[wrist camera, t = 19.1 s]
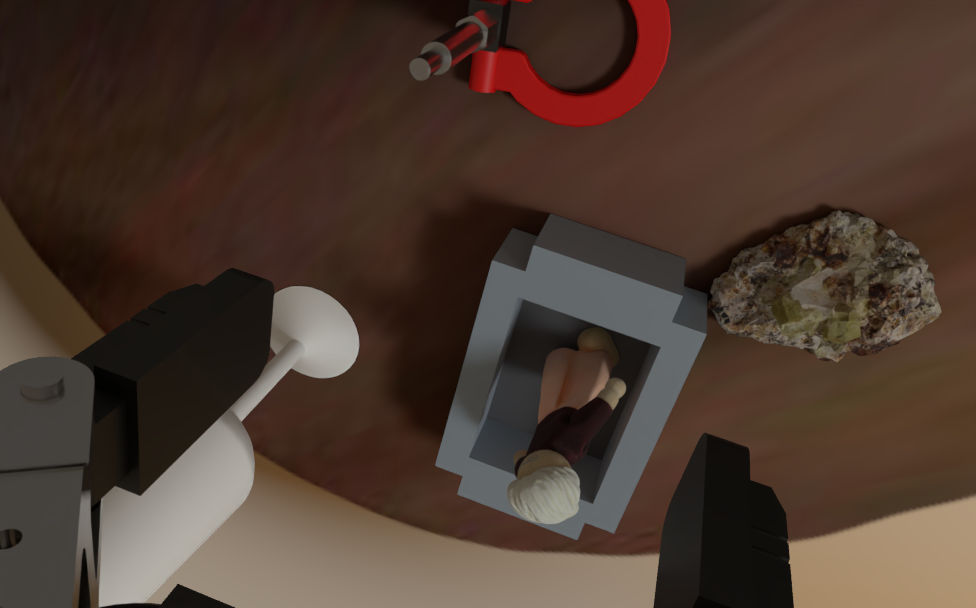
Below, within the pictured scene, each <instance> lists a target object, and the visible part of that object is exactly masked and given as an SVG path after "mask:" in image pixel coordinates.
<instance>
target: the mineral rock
mask: <svg viewBox="0 0 976 608" xmlns="http://www.w3.org/2000/svg"><path fill="white" fill-rule="evenodd" d="M927 268H928V264H927V262H926V261H925V259H924V258H923V257H922V256H921V255H920V254H919V250H918V247H917V246H915V245H914V244H913V243H912V242H910V241H909V240H905V239H901V238H898V237H897V235H896V234H895V233H894V231H893V230H890V229H887V228H885V227H884V226H882V225H879V224H876V223H875V222H874V221H873V220H872V219H871V218H867V217H862V216H861V215H859V214H856V213H854V214H851V213H849V212H844V213H842V212H841V211H840V210H839V211H834V212H832V213H831V214H830V215H829V216H827V217H825V218H821V219H817V220H813V221H812V223H810V224H808V225H805V224H801V225H798V226H795V227H791V228H789V229H787V230H785V232H784V233H781V234H773V236H772V237H771V238H769V239H768V240H767V241H766V242H765V243H763V244H759V245H757V246H756V247H754V248H746V249H744V250H742V251H741V252H740V253H739V254H738V255H737V256H736V257H734V258H733V259H732V264H731V265H730V268H729V271H728V272H725V273H723V274H721V276H720V277H719V278H715V279H714V281H713V284H712V287H711V291H710V293H711V294H712V296H713V297H712V299H711V300H709V301H708V304H707V308H708V309H709V310H711V311H712V312H713V313H714V315H715V317H716V320H717V321H718V322H719V324H720V326H721V327H722V328H724V329H725V330H726V332H727V334H732V333H734V334H736V335H737V336H738V337H750V338H754V339H756V340H757V341H758V342H764V343H765V344H768V343H777V344H778V345H784V346H793V347H797V348H800V349H803V348H808V351H809V352H812V353H815V355H816V357H817V358H818V359H820V360H822V361H830V360H833V361H834V362H835V363H837V362H838V361H839V360H840V359H842V357H843V356H844V354H845V353H846V352H847V351H850V352H853V353H855V354H856V355H858V356H866V355H875V354H877V353H878V352H880V351H882V350H883V349H885V348H888V347H890V346H893V345H896V344H899V343H900V341H901V340H902V338H904V337H906V336H908V335H911V334H913V333H914V332H916V331H917V330H919V329H921V328H923V326H924V325H926V324H929V323H931V322H932V321H934V320H936V319H937V318H938V317H939V315H940V313H941V306H940V305H939V304H938V300H937V296H936V295H935V293H934V285H935V284H936V283H935V280H934V277H933V274H932V273H931V272H930V271H929V270H928V269H927Z"/></svg>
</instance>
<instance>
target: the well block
mask: <svg viewBox="0 0 976 608" xmlns="http://www.w3.org/2000/svg"><path fill="white" fill-rule="evenodd" d="M685 264H686V259H685V258H682V257H679V256H676V255H673V254H670V253H667V252H664V251H661V250H658V249H655V248H652V247H649V246H646V245H643V244H640V243H637V242H634V241H631V240H628V239H625V238H622V237H619V236H616V235H613V234H610V233H607V232H604V231H601V230H598V229H595V228H592V227H589V226H586V225H583V224H580V223H577V222H574V221H571V220H568V219H565V218H562V217H559V216H556V215H553V214H550V215H549V217H548V219H547V221H546V223H545V225H544V227H543V228H542V230H541V232H540V234H539V236H535V235H532V234H529V233H526V232H523V231H520V230H517V229H514V228H512V230H511V231H510V233H509V234H508V236H507V238H506V239H505V241H504V242H503V244H502V245H501V247H500V249H499V250H498V252H497V253H496V255H495V256H494V258H493V260H492V262H491V266H490V270H489V273H488V277H487V281H486V284H485V288H484V291H483V295H482V299H481V302H480V306H479V309H478V313H477V317H476V320H475V324H474V327H473V331H472V335H471V338H470V342H469V345H468V349H467V353H466V356H465V360H464V363H463V367H462V371H461V374H460V378H459V381H458V385H457V389H456V392H455V396H454V399H453V403H452V407H451V410H450V414H449V417H448V421H447V425H446V428H445V432H444V435H443V439H442V443H441V446H440V450H439V453H438V457H437V461H436V464H435V466H437V467H440V468H443V469H445V470H448V471H451V472H453V473H456V474H458V475H461V476H463V478H462V481H461V484H460V487H459V491H458V495H460V496H463V497H465V498H468V499H471V500H473V501H476V502H479V503H481V504H484V505H486V506H489V507H492V508H494V509H497V510H499V511H502V512H505V513H507V514H510V515H513V516H515V517H518V518H520V519H523V520H526V521H528V522H531V523H533V524H536V525H539V526H541V527H544V528H547V529H549V530H552V531H554V532H557V533H560V534H562V535H565V536H567V537H570V538H573V539H575V540H577V539H578V537H579V535H580V532H581V530H582V528H583V526H584V523H588V524H590V525H593V526H596V527H598V528H601V529H603V530H606V531H609V532H611V533H614V532H615V530H616V528H617V526H618V524H619V522H620V519H621V517H622V515H623V513H624V511H625V509H626V507H627V504H628V502H629V500H630V498H631V496H632V494H633V491H634V489H635V487H636V485H637V483H638V481H639V479H640V476H641V474H642V472H643V470H644V468H645V466H646V464H647V461H648V459H649V457H650V455H651V453H652V451H653V449H654V446H655V444H656V442H657V440H658V438H659V436H660V434H661V431H662V429H663V427H664V425H665V423H666V421H667V419H668V416H669V414H670V412H671V410H672V408H673V406H674V404H675V401H676V399H677V397H678V395H679V393H680V391H681V388H682V386H683V384H684V382H685V380H686V378H687V376H688V373H689V371H690V369H691V367H692V365H693V363H694V361H695V358H696V356H697V354H698V352H699V350H700V348H701V346H702V343H703V341H704V339H705V337H706V335H707V294H706V293H703V292H700V291H697V290H694V289H691V288H688V287H685V286H684V277H685ZM591 327H599V328H603V329H604V330H606V331H607V332H608V333H609V334H610V336H611V338H612V340H613V342H614V344H615V346H616V348H617V350H618V353H619V356H620V360H619V362H618V364H617V365H616V366H615V367H613V368H612V371H611V374H610V378H609V379H611V378H619V379H621V380H623V381H624V383H625V385H626V392H625V393H624V395H623V396H622V397H621V398H619V401H618V403H617V405H616V407H615V408H614V409H613V412H612V415H611V416H610V417H609V419H608V420H607V421H606V422H605V423H604V425H603V426H602V427H601V429H600V430H599V432H598V433H597V434H596V435H595V436H594V437H593V438H592V439H591V440H590V444H589V448H588V451H587V453H586V455H585V456H584V457H583V458H582V459H581V460H580V461H578V462H577V463H575V464H574V465H573V466H571V468H572V469H573V470H574V471H575V472H576V473H577V475H578V477H579V480H580V486H579V488H580V498H579V502H578V505H579V509H578V512H577V513H576V514H575V515H574V516H572V517H570V518H567V519H566V520H564V521H562V522H560V523H557V524H544V523H536V522H533V521H529V520H527V519H525V518H523V517H522V516H520V515H519V514H518V513H516V512H515V511H514V509H513V508H512V507H511V505H510V503H509V501H508V498H507V488H508V486H509V484H510V483H511V482H512V481H514V480H517V478H516V476H515V472H514V469H515V463H514V455H515V453H516V452H517V451H519V450H528V448H529V445H530V443H531V441H532V438H533V436H534V434H535V430H536V427H537V425H538V413H539V404H540V398H541V385H542V378H543V370H544V366H545V362H546V358H547V356H548V355H549V354H550V352H552V351H553V350H556V349H559V348H569V349H572V350H575V351H579V347H578V343H577V341H578V337H579V335H580V334H581V333H582V332H583V331H584V330H586V329H589V328H591Z"/></svg>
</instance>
